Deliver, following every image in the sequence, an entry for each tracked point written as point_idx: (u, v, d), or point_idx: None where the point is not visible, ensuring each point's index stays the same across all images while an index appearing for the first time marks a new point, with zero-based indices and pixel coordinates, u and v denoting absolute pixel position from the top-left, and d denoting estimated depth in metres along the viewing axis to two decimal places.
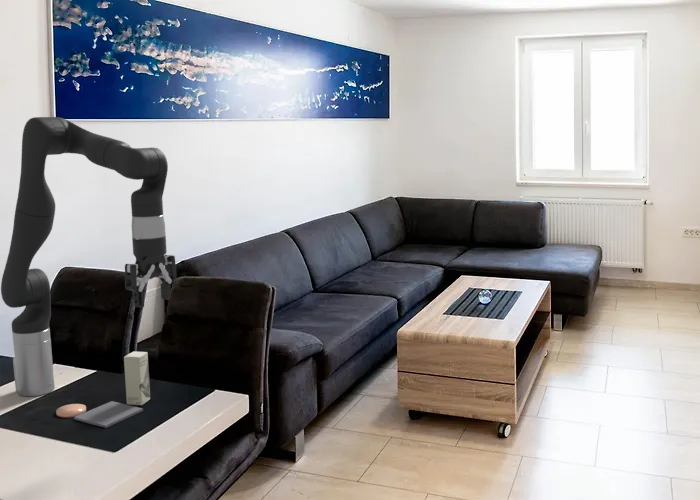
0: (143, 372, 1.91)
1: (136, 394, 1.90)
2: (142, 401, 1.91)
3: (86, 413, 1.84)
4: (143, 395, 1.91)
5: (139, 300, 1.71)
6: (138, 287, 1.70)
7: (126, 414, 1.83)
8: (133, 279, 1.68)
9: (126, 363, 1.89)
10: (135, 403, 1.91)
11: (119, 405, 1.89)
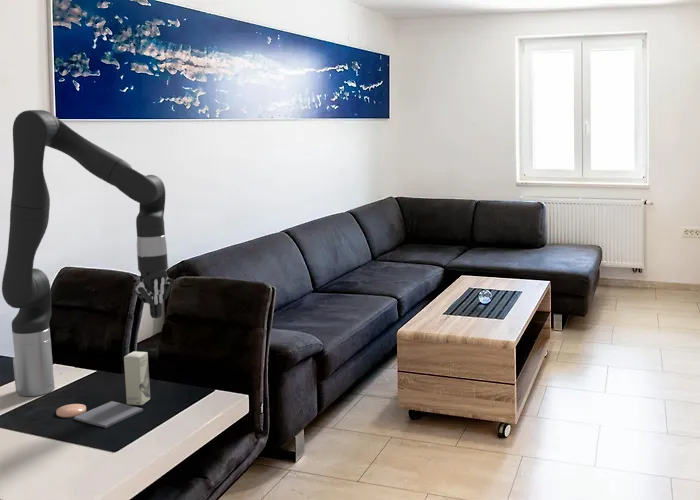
0: (143, 372, 1.91)
1: (136, 394, 1.90)
2: (142, 401, 1.91)
3: (86, 413, 1.84)
4: (143, 395, 1.91)
5: (155, 312, 1.95)
6: (153, 302, 1.94)
7: (126, 414, 1.83)
8: (146, 297, 1.92)
9: (126, 363, 1.89)
10: (135, 403, 1.91)
11: (119, 405, 1.89)
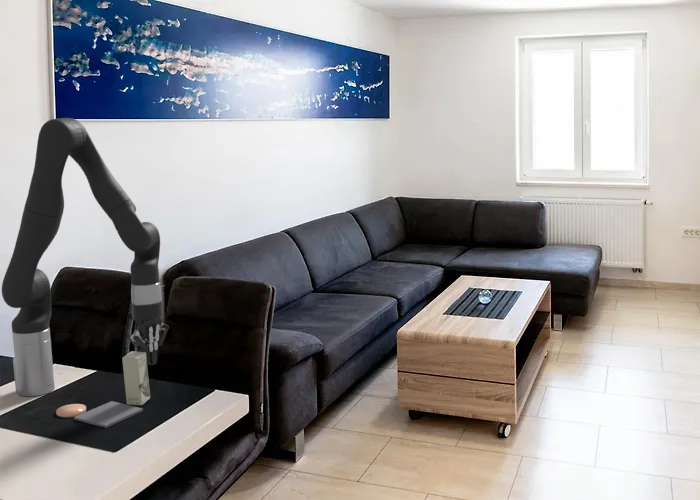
0: (142, 372, 1.91)
1: (136, 394, 1.90)
2: (142, 401, 1.90)
3: (86, 413, 1.84)
4: (143, 395, 1.91)
5: (150, 359, 1.95)
6: (149, 349, 1.94)
7: (126, 414, 1.83)
8: (141, 345, 1.91)
9: (125, 364, 1.89)
10: (135, 403, 1.91)
11: (119, 405, 1.89)
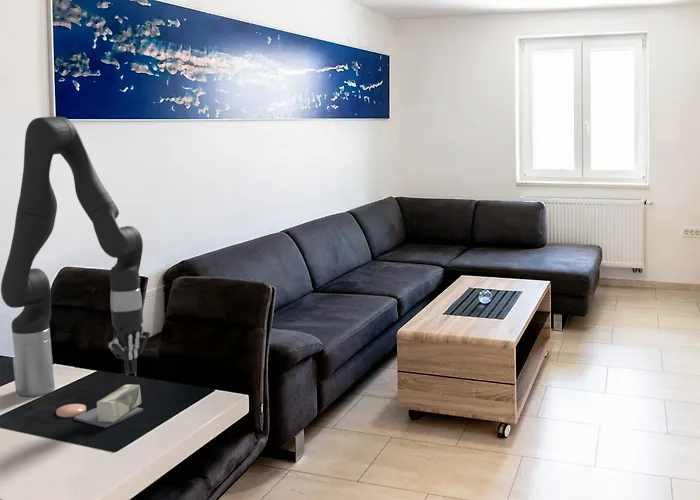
0: (123, 407, 1.82)
1: None
2: (139, 403, 1.89)
3: (86, 413, 1.84)
4: (136, 402, 1.88)
5: (129, 367, 1.89)
6: (128, 358, 1.88)
7: (126, 414, 1.83)
8: (120, 353, 1.85)
9: None
10: None
11: None
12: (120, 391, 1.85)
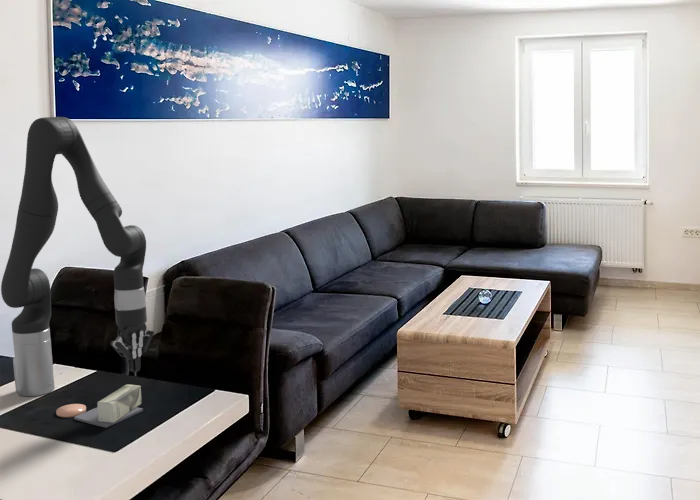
0: (123, 407, 1.82)
1: None
2: (139, 404, 1.89)
3: (86, 413, 1.84)
4: (136, 402, 1.88)
5: (133, 366, 1.90)
6: (132, 356, 1.89)
7: (126, 414, 1.83)
8: (124, 352, 1.86)
9: None
10: None
11: None
12: (121, 392, 1.85)
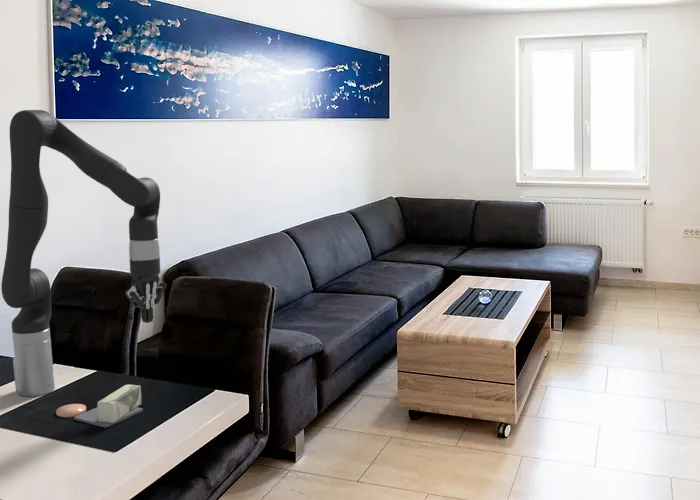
0: (123, 407, 1.82)
1: None
2: (139, 404, 1.89)
3: (86, 413, 1.84)
4: (136, 402, 1.88)
5: (146, 316, 1.92)
6: (145, 307, 1.91)
7: (126, 414, 1.83)
8: (138, 301, 1.89)
9: None
10: None
11: None
12: (121, 392, 1.85)
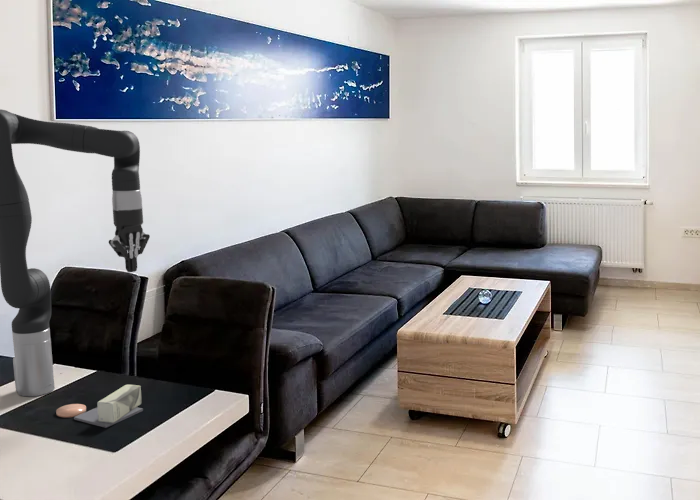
0: (123, 407, 1.82)
1: None
2: (139, 404, 1.89)
3: (86, 413, 1.84)
4: (136, 402, 1.88)
5: (130, 266, 1.99)
6: (129, 256, 1.98)
7: (126, 414, 1.83)
8: (121, 250, 1.95)
9: None
10: None
11: None
12: (121, 392, 1.85)
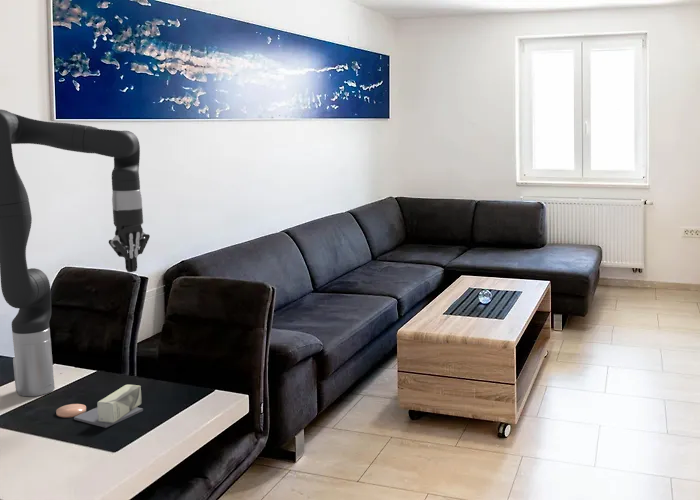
0: (123, 407, 1.82)
1: None
2: (139, 404, 1.89)
3: (86, 413, 1.84)
4: (136, 402, 1.88)
5: (130, 265, 1.99)
6: (129, 256, 1.98)
7: (126, 414, 1.83)
8: (121, 250, 1.95)
9: None
10: None
11: None
12: (121, 392, 1.85)
